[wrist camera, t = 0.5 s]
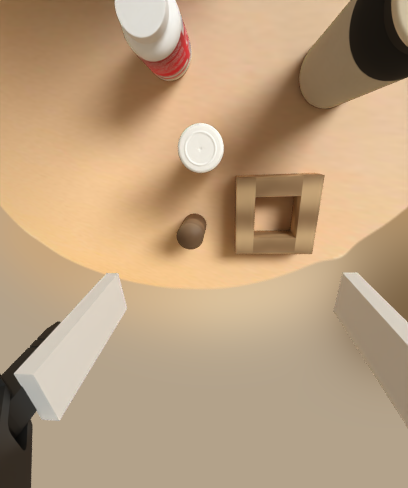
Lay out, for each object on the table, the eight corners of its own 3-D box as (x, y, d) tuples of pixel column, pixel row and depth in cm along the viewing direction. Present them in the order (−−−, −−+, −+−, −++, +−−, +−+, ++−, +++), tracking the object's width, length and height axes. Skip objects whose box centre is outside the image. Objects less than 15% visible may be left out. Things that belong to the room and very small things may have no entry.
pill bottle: (201, 57, 29) (188, 8, 19) (168, 92, 31) (140, 65, 21) (170, 10, 28) (138, -70, 18) (137, 50, 30) (91, -1, 20)
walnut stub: (182, 213, 38) (175, 224, 33) (205, 213, 38) (202, 224, 32) (184, 235, 40) (178, 249, 34) (206, 235, 39) (203, 249, 34)
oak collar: (235, 175, 35) (236, 178, 32) (315, 172, 34) (324, 175, 30) (235, 245, 39) (235, 254, 36) (304, 245, 38) (311, 253, 35)
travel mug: (344, 115, 30) (485, 74, 14) (288, 100, 30) (364, 40, 14) (376, 43, 27) (608, -122, 11) (314, 26, 27) (451, -167, 11)
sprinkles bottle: (211, 171, 35) (204, 183, 23) (188, 152, 34) (167, 153, 22) (230, 146, 33) (233, 144, 21) (207, 125, 32) (195, 110, 20)
